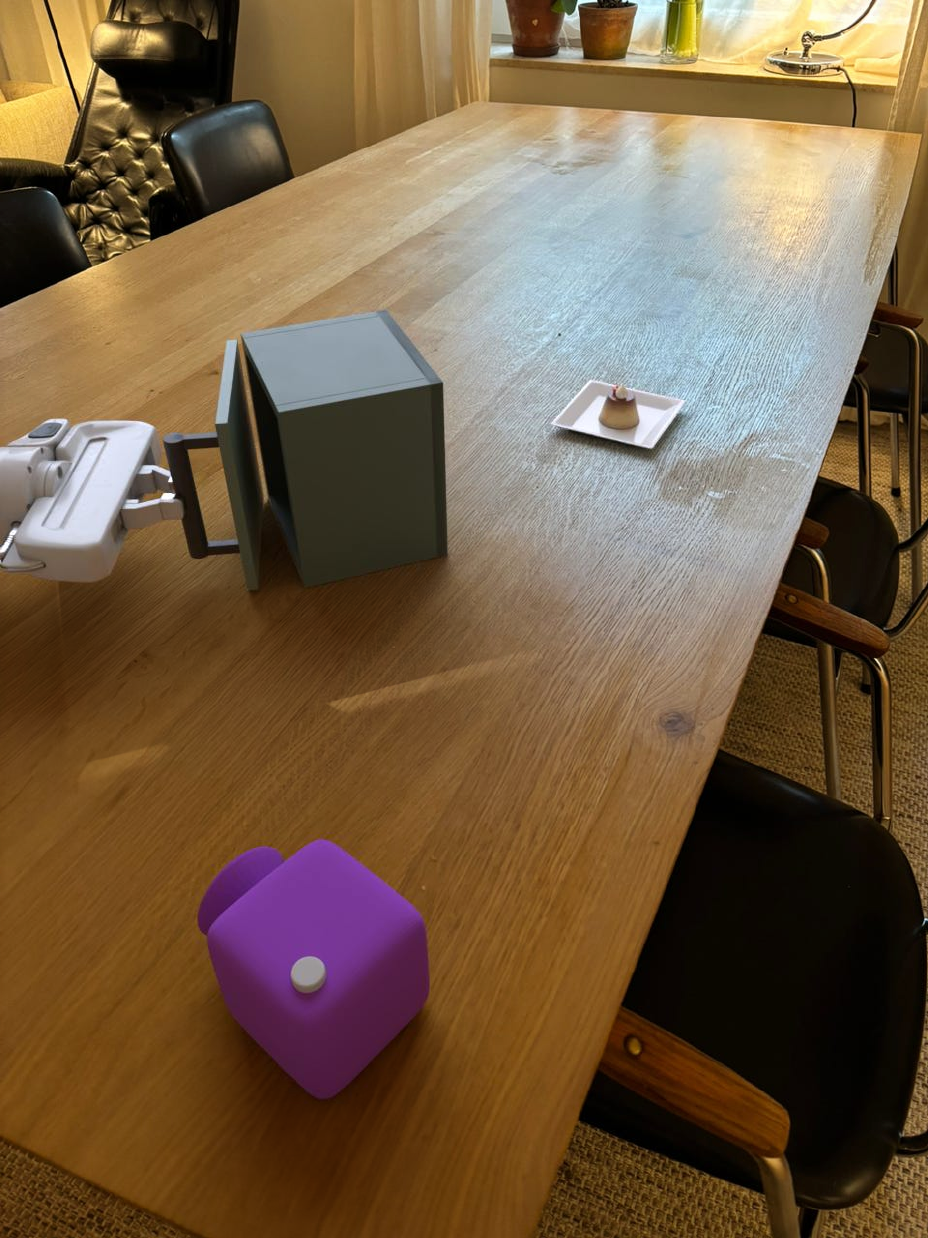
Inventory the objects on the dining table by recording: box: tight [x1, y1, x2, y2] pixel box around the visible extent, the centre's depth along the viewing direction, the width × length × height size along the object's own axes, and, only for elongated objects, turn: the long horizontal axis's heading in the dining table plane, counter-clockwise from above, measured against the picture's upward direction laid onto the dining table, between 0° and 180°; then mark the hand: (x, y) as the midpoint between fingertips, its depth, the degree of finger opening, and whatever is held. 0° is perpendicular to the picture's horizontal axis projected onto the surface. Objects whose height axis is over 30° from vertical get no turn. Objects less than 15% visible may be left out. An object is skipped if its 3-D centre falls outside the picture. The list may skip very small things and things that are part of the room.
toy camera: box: [197, 838, 431, 1100], centre depth 57 cm, size 11×14×10 cm
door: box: [162, 339, 265, 591], centre depth 90 cm, size 6×16×17 cm, turn 7°
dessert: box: [550, 379, 687, 450], centre depth 112 cm, size 12×12×5 cm
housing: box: [240, 309, 449, 589], centre depth 93 cm, size 14×16×18 cm
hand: (188, 495), depth 86 cm, fingers closed on door, 2 cm apart
